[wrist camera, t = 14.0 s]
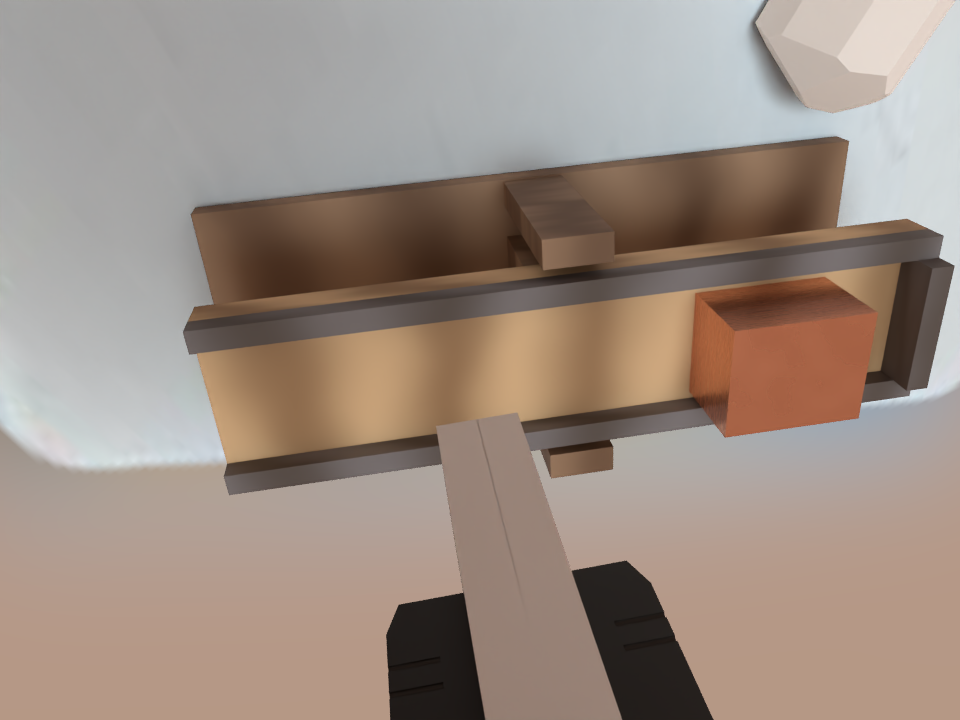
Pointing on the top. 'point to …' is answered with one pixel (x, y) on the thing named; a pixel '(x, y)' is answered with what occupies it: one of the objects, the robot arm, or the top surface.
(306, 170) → the top surface
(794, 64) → the crystal
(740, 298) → the terracotta wooden block
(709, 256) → the beam
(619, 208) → the stand
